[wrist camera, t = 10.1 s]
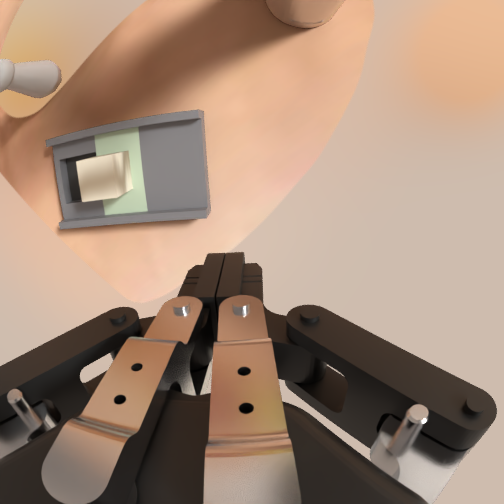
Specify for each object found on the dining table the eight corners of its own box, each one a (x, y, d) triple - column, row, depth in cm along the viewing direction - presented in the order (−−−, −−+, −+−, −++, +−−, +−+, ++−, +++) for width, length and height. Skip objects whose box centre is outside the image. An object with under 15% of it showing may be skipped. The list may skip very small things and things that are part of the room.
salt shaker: (46, 106, 33) (-14, 109, 21) (33, 81, 31) (-25, 79, 19) (72, 79, 32) (13, 72, 20) (57, 54, 30) (0, 43, 18)
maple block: (95, 156, 35) (76, 161, 30) (128, 150, 34) (111, 154, 30) (100, 192, 37) (82, 202, 32) (133, 188, 36) (117, 197, 32)
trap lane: (59, 137, 35) (45, 140, 32) (203, 111, 34) (198, 109, 31) (72, 221, 40) (60, 229, 37) (210, 210, 40) (206, 218, 36)
